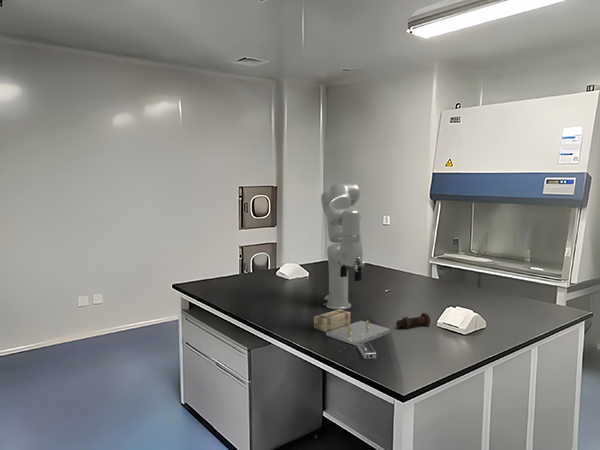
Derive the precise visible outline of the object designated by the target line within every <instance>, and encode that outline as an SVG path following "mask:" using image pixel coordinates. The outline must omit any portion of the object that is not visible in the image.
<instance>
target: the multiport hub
mask: <svg viewBox="0 0 600 450" xmlns="http://www.w3.org/2000/svg"><path fill="white" fill-rule="evenodd" d="M357 349H358V351H359V353H360V354H361V356H362V358H363V359H365V360H368V359H377V352H376V350H375V349H374V347H373V346H372V345H371V343H370V342H369V341H367V342H365V343H358V345H357Z"/></svg>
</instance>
